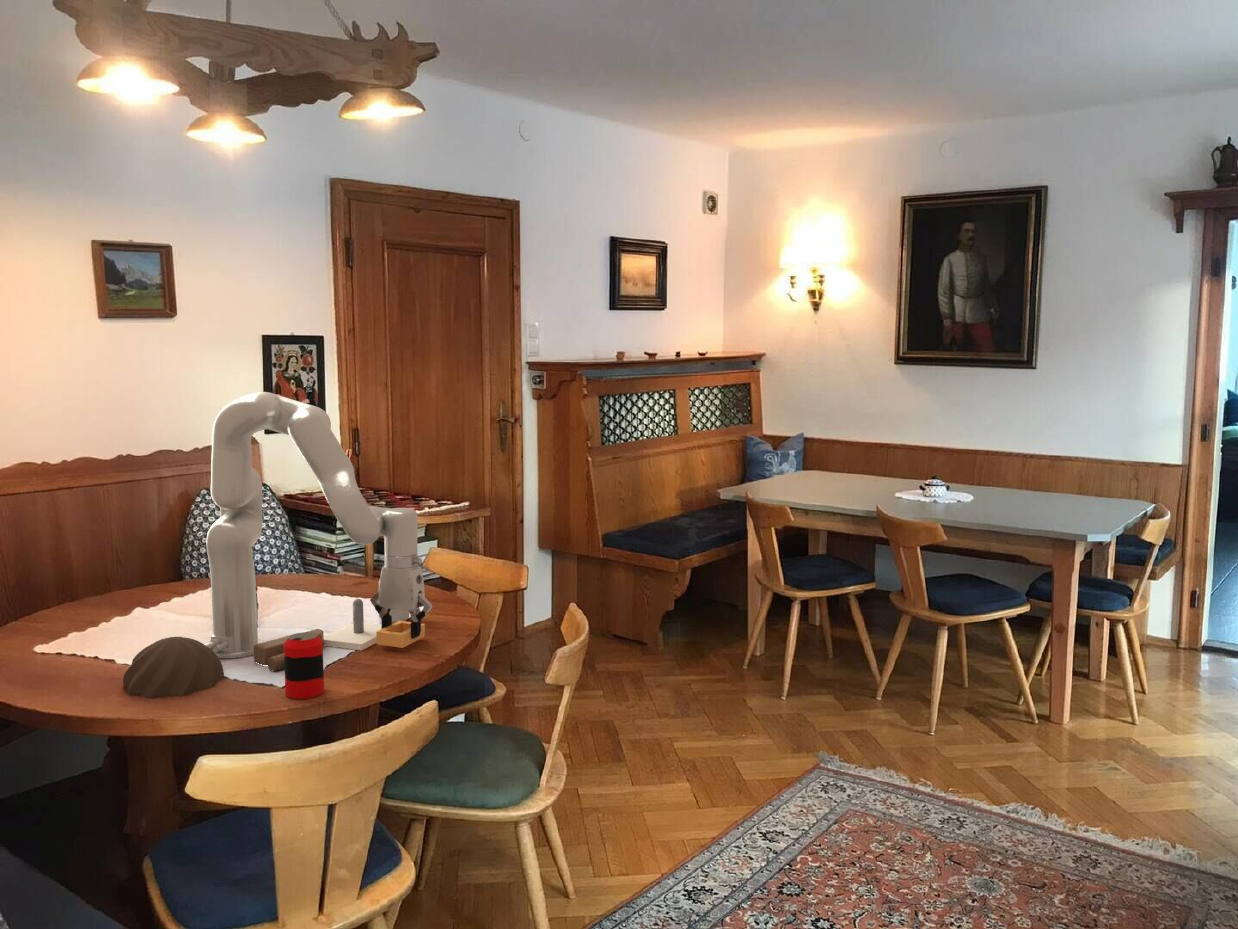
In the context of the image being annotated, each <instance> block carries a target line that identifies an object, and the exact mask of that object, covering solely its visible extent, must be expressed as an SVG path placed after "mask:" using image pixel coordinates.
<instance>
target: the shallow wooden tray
mask: <svg viewBox="0 0 1238 929" xmlns="http://www.w3.org/2000/svg"><path fill="white" fill-rule="evenodd" d="M411 622H412V621H407V620H406V621H398V622H396V623H393V624H392V625H390V626H388V627H385V628H383V629H381V630H379V631H377V643H376V645H379V646H387V647H395V648H400V649H403V648H406V647H408V646H410V645H412V644H413V643H415V642H417V641H420V640H421V639H423V638H424V637H425V636H426V624H425V623H421V633H420V636H418V637H416V638H414V639H412V638H411Z"/></svg>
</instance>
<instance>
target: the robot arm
mask: <svg viewBox="0 0 1238 929" xmlns="http://www.w3.org/2000/svg"><path fill="white" fill-rule="evenodd" d="M331 428H332V421H331V419H330V416H329V414H328V413H327V412H326V411H325V410H324V409H322V408H321V407H319V406H315V405H312V404H308V403H306V402H302V401H299V400H295V399H292V398H290V397H285V396H283V395H279V394H275V393H272V392H268V391H259V392H255V393H250V394H247V395H244V396H241V397H239V398H237V399H234V400H233V401H231V402H230V403H227V404H226V405H225V406H224V407H223V408H222V409H221V410H220V411H219V413H218V414H217V415H216V417H215V420H214V422H213V425H212V433H211V434H212V435H211V459H210V460H211V462H210V464H211V465H210V467H211V469H210V474H211V475H210V496H211V499H212V501H213V502H214V504H215V505H216V506H217V507H219V508H220V512H219V514H220V516H219V518H218V519H217V520H215V521H214V522H213V523H212V525H211V526H210V527H209V530H208V531H207V535H206V542H205V543H206V544H205V545H206V552H207V558H208V565H209V573H210V588H211V589H210V590H211V591H210V592H211V612H212V626H213V627H212V628H213V629H212V631H213V634H212V635H210V640H209V641H208V642H206V643H203V644H204V645H206V646H207V647H209V648H210V649H211V650H212V651H213V652H214V653H215V654H216V655H217V656H218V658H219V659H237V658H236V657H239V658H244V656H245V657H248V656H249V657H250V656H254V645H256V644H259V643H263V642H265V641H264V640H263V639H261V638H259V636H258V635H259V634H258V614H257V613H258V612H257V610H258V609H257V591H256V589H257V588H256V587H257V586H256V573H255V571H256V568H255V563H254V556H253V546H254V545H255V544H256V543H257V541H258V540H259V538H260V536H261V534H262V529H263V482H262V478H261V476H260V474H259V472H258V471H257V470H256V469H255V468H254V467H252V466H253V465H252V461H253V460H252V457H253V456H252V455H253V448H252V437H253V435H254V434H256V433H258V432H261V431H264V430H269V431H273V432H276V433H280V434H283V435H286V436H289V437H290V438H291V441H292V442H293V444H294V445H295V447H296V448H297V450H298V452H299V453H300V455H301V457H303V460H304V461H305V463H306V464H307V466H308V467H309V469H310V471H311V472H312V473H313V475H314V477H315V478H316V480H317V482H318V484H319V487H320V489H321V491H322V493H323V495H324V497H325V499H326V502H327V503H328V505H329V507H330V509H331V511H332V513H333V515H334V516H335V518H336V520H337V521H338V523H339V524H340V526H341V528H342V529H343V531H344V532H345V535H347V536H348V538H349V539H350V540H351V541H353V542H354V543H356V544H358V545H361V546H367V545H371V544H374V543H375V542H376V541H377V540H378V539H379V538H380V537H383V539H384V565H382V568H381V572H380V578H379V581H380V584H379V583H378V592H376V594H374V595H373V596H372V597H371V598H370V599H369V601H370V603H371V604H372V606H373V607H374V609H375V611H376V612H377V613H378V616H379V619H380V618H381V619H380V621H381V623H380V624H381V628H382V629H383V628H385V627H388V626H390V625H392V616H391V615H390V612H391V610H392V609H397V610H405V611H409V616H410V617H411V620H412V621H410V622H411V638H412V639H414V638H416V637H418V636H420V633H421V624H422V620H423V619H424V618H425V617H426V616H427V615H428V613H429V612H430V611H431V610H432V609H433V604H432V603H431V602H430V601H429V600H428V599H427V598H426V596H425V594H426V593H425V582H424V581H425V580H424V576H423V571H422V567H421V566H420V565H421V564H422V562H423V559H422V558H421V557H420V558H419V554H418V513H417V511H416V510H415V509H413V508H411V507H393V508H390V507H389V508H388V507H383V506H382V507H381V506H375V505H368V503H367V501H366V499H365V498H364V496H363V495H362V492H361V491H360V488H359V485H358V484H357V480H356V476H355V469H354V466H353V464H352V460H351V459H350V458H349V457H348V455H347V453H346V451H345V450H344V449H343V447H342V445H341V444H340V442H339V440H338V439H337V437H336V436H335V434H334V432H333V431H332V429H331ZM418 565H419V566H418ZM422 607H423V608H422ZM421 608H422V610H421Z"/></svg>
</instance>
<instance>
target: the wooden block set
mask: <svg viewBox="0 0 1238 929" xmlns="http://www.w3.org/2000/svg"><path fill="white" fill-rule="evenodd" d="M307 632H311V633H316V634H317V635H318V636H319V638H320V639H321V640H322V641H323V647H325V646H324V636H325V635H324V630H322V629H320V628H315V629H312V630H309V631H307ZM289 636H290V635H286V636H282V637H278V638H275V639H271V640H267V641H264V642H263V643H259V644H256V645H254V655H253V660H254V661H253V662H257V663H259V664H262V665H268V666H267V667H268V669H269V670H270V669H271V670H273V671H272V672H277V671H276V670H278V671H280V670H279V669H281V670H284V669H285V667H284V643H285V642H286V640H287V639H288V637H289ZM283 668H284V669H283ZM271 670H270V671H271Z"/></svg>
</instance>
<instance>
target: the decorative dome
mask: <svg viewBox="0 0 1238 929" xmlns="http://www.w3.org/2000/svg"><path fill="white" fill-rule="evenodd" d="M204 644H205V643H203V642H201V641H199V640H196V639H194V638H191V637H190V638H189V637H183V636H170V637H165V638H161V639H159V640H157V641H155V642H153V643H151V644H149V645H148V646H145V647H144V648H143V649H141V650H140V651H139V652H138V653H137V654H136V655H135V656H134V657H133V659H132V661H131V665H130V666H129V667H128V668H127V669H126V671H125V672H124V674H123V678H122V685H123V687H124V688H126V687H127V688H126V689H127V691H126V695H127V694H129V695H131V696H141V697H143V698H146V699H150V700H151V699H156V698H157V699H158V698H165V697H184V696H187V695H190V694H192V693H194V692H199V691H204V690H205V691H206V690H209V689H212V688H213V687H214V685H215V684H216V683H218V682H221V681H222V680H224V679H225V671H224V668H223V664H222V661H221V659H220V658H218V656H217V655H216V654H215V653H214V652H213V651H212V650H211V649H210V648H209V647H207V646H206V645H204ZM129 695H128V696H129Z"/></svg>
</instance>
